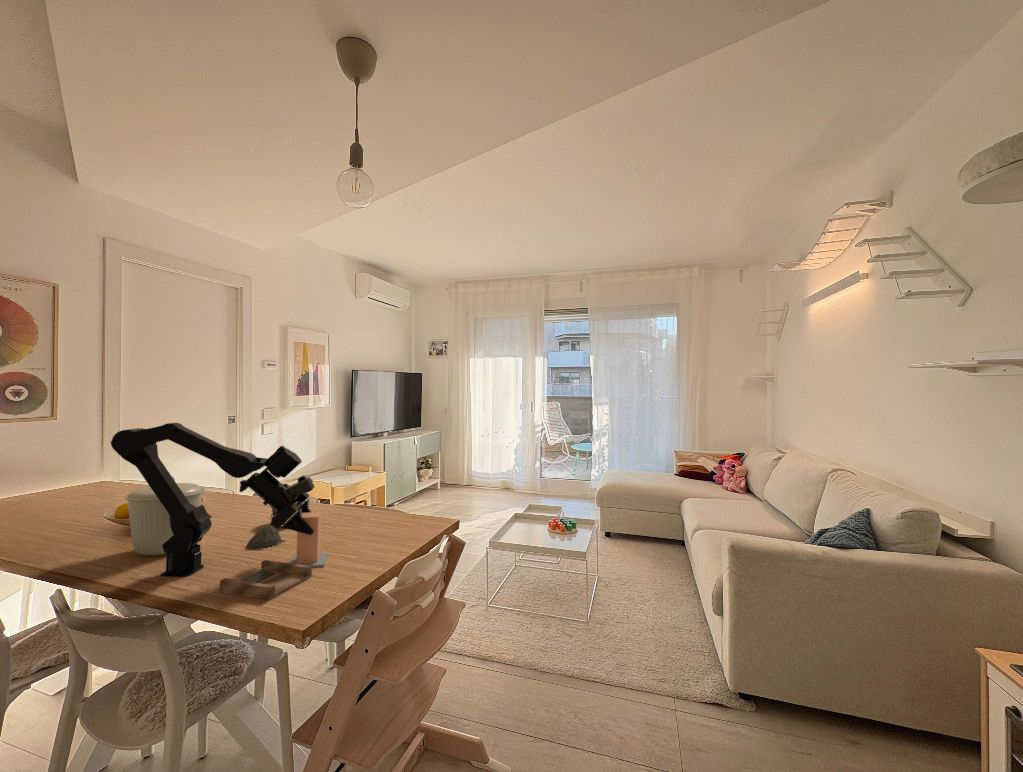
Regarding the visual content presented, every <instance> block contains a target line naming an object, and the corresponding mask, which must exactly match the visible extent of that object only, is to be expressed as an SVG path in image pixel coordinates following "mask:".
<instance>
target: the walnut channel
mask: <svg viewBox="0 0 1023 772" xmlns="http://www.w3.org/2000/svg"><path fill="white" fill-rule="evenodd" d="M260 567H261V569H260V570H257V571H254V572H253V573H250V574H249V575H247V576H244V577H242V578H240V579H233V578H227V577H224V578H222V579H220V580H219V590H218V591H219V593H224V594H231V595H236V596H243V597H250V598H255V599H262V600H268V601H272V600H274V599H275V598H277V597H278V596H280V595H282V594H284V593H285V592H287V591H289V590H291V589H292V588H294V587H296V586H297V585H300V584H301V583H303V582H305V581H306V580H308V579H310V578H312V577H313V574H312V573H313V570H312V569H313V568H312V566H307V565H300V564H292V563H289V562H281V561H277V560H276V561H275V560H269V559H264V560H262V561H261V566H260Z"/></svg>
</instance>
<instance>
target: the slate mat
mask: <svg viewBox="0 0 1023 772" xmlns="http://www.w3.org/2000/svg"><path fill="white" fill-rule="evenodd" d="M329 554H330V553H329V552H320V557H319V559H318V561H317V562H314V563H301V564H300V565H307V566H312V569H314V568H324V567H325V565H326V562H327V560H328V558H329ZM327 557H328V558H327ZM288 563H292V564H296V563H297V554H293V556H292V557H291V559H290V560H289V562H288Z"/></svg>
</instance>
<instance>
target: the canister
mask: <svg viewBox="0 0 1023 772" xmlns="http://www.w3.org/2000/svg"><path fill="white" fill-rule="evenodd" d="M172 478H173V479H174V481H175V482H176V479H175V477H174V476H172ZM176 484H177V485H178V487H179V488H180V489H181V491H182V492H183V494H184V495H185V497H186V498H187V500H188V501H189V503H190V504H192V505H194V506H195V507H199V506H200V505H202V498H203V493H205V491H206V488H205V487H203V486H201V485H199V484H197V483H189V482H176ZM124 499H125V500H126V501H127V506H128V507H127V508H128V519H129V527H130V534H131V542H132V547H133V549H134V550H133V551H135V552H136V553H137V554H138V555H141V556H151V557H152V556H159V555H160V556H161V555H166V554H167V553H165V552H164V550H163V547H162V545H163V544H164V543H165V542H166V541H167V540H169V539H170V538H171V537H172V536H173V535H174V534H173V532H172V530H171V527H170V517H169V514H168V512H167V511H166V509H165V508H164V506H163V505H162V503H161V502H160V501H159V499H158V498H157V496H156V495H155V493H154V492H153V490H152V489H151V487H150V486H149V485H148V486H143V487H139V488H136V489H134V490H132V491H131V492H130V493H127V494H126V495H125V496H124Z"/></svg>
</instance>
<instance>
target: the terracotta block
mask: <svg viewBox="0 0 1023 772" xmlns="http://www.w3.org/2000/svg"><path fill="white" fill-rule="evenodd" d="M302 517H303V518H304V519H305V521H306V522H307V523H308V524H309V526H310V527H311V528H312V529H313V531H314V533H313V534H312V535H309V534H305V533H301V532H298V531H296V532H297V533H296V555H297V563H296V564H301V563H314V562H317V561H318V559H319V557H320V553H321V542H322V540H321V538H322V537H321V536H322V534H321V533H322V511H315V512H313V511H311V512H310V513H302Z"/></svg>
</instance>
